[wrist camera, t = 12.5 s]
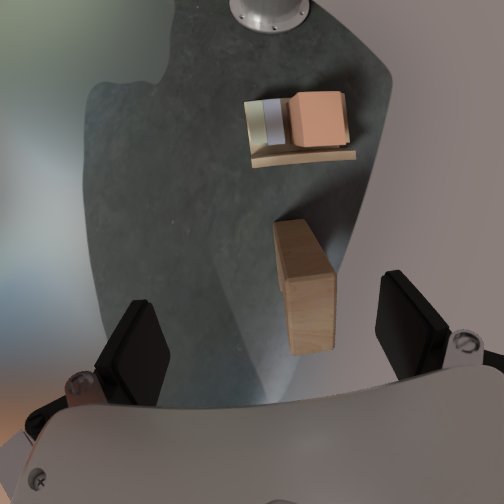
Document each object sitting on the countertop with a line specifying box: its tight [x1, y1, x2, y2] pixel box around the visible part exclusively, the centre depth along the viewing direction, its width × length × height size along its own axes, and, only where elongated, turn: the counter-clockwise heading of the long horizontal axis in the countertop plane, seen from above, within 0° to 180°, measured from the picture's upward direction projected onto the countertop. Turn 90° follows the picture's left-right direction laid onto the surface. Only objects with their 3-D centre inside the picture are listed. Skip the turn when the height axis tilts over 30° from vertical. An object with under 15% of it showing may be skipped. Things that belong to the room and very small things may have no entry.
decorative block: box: [273, 219, 337, 356], centre depth 40 cm, size 11×6×20 cm, turn 6°
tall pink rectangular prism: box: [286, 91, 346, 147], centre depth 35 cm, size 7×5×12 cm
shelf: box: [244, 93, 356, 168], centre depth 38 cm, size 10×14×8 cm
